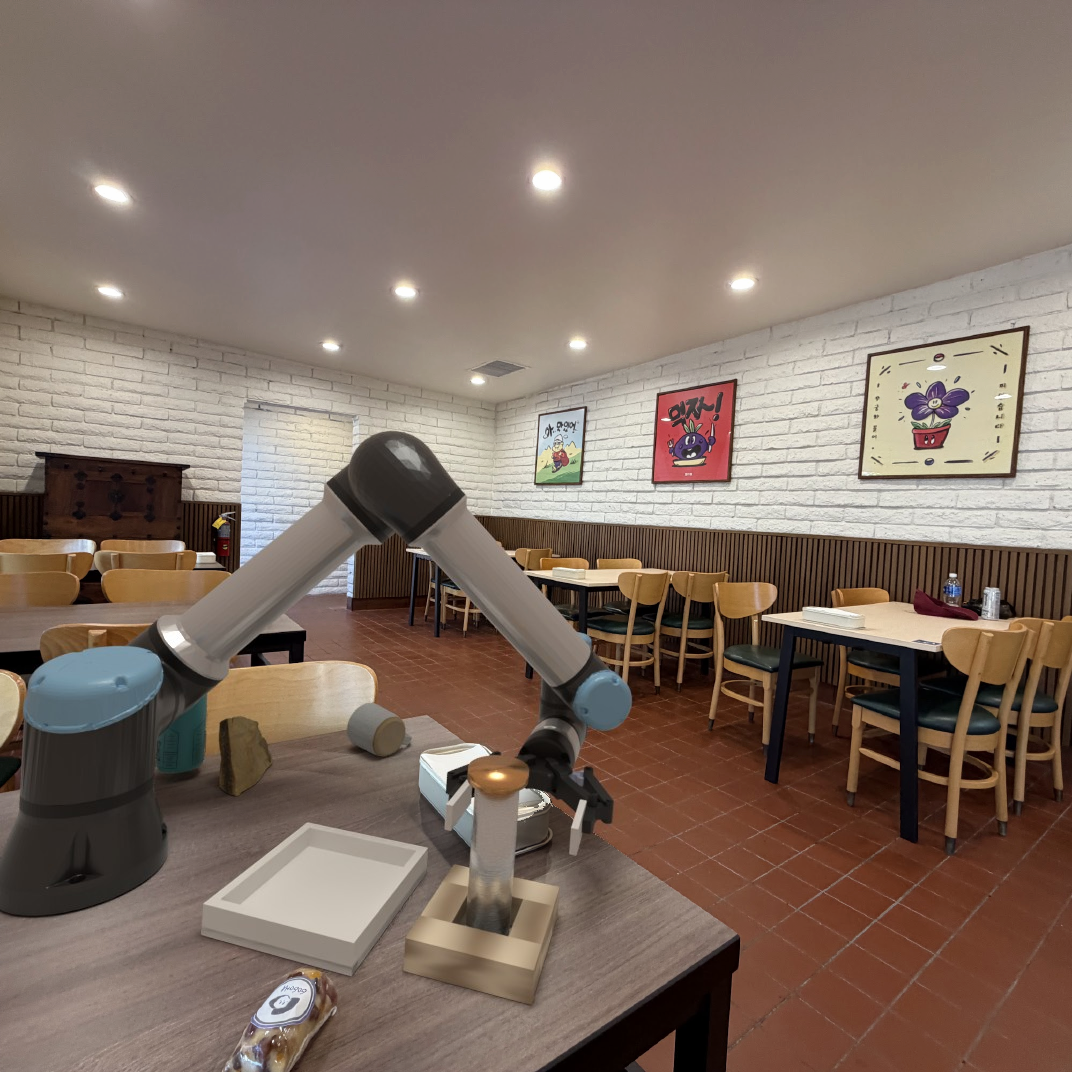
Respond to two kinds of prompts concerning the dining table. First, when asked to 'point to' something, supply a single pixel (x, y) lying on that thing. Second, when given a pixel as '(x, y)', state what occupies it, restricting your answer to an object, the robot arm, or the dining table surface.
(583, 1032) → the dining table surface
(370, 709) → the ceramic mug
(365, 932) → the tray
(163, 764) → the beverage bottle
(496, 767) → the steel pin
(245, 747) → the rock
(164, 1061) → the dining table surface
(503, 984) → the block
